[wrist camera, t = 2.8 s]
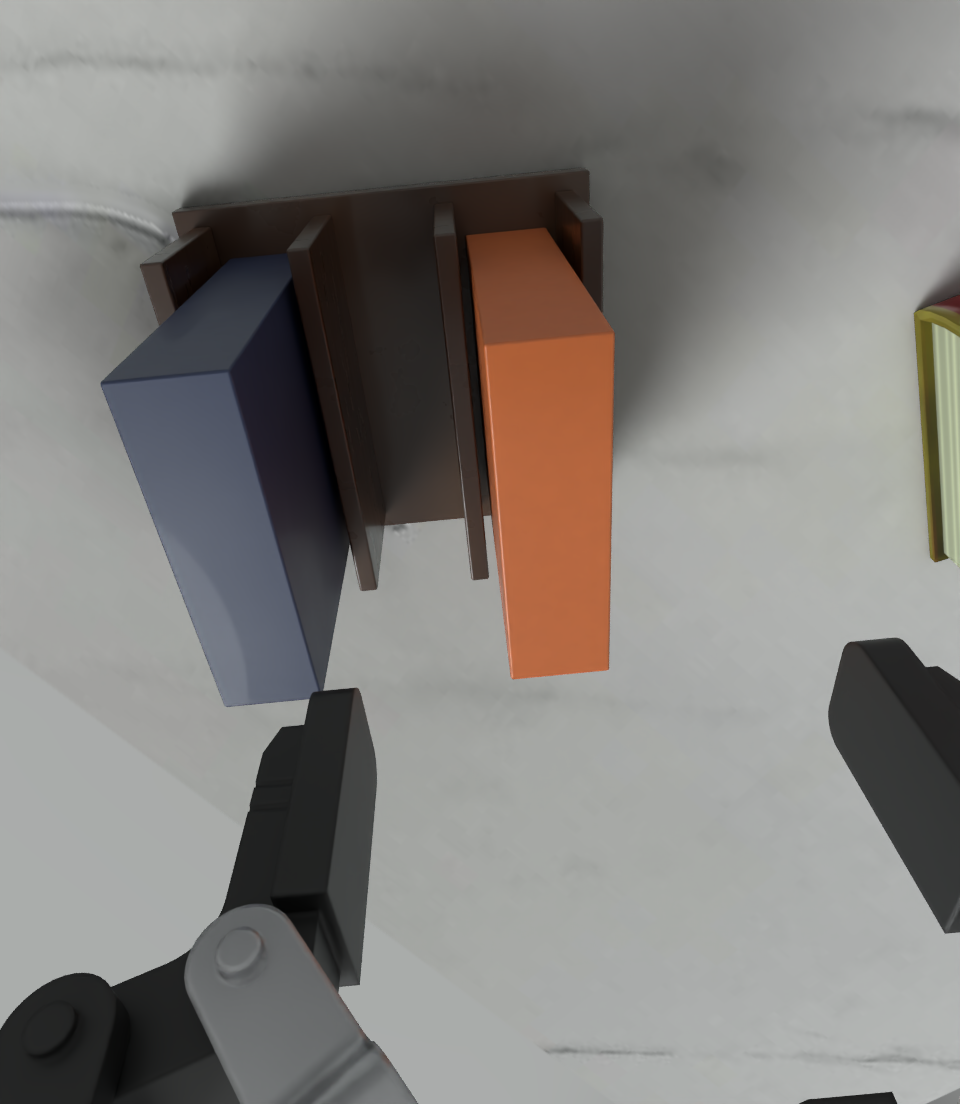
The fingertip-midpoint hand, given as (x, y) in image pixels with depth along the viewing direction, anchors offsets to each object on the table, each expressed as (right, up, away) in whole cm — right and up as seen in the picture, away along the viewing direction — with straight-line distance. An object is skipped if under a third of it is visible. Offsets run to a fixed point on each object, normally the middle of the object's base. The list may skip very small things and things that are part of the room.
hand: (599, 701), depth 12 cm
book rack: (-5, +9, +14) cm, 18 cm away
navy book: (-8, +8, +14) cm, 18 cm away
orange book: (-1, +9, +14) cm, 17 cm away
